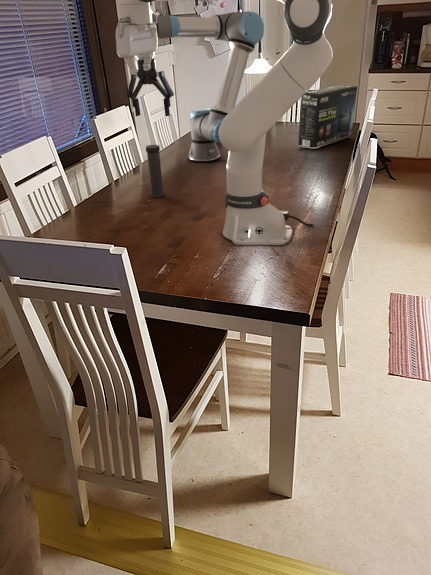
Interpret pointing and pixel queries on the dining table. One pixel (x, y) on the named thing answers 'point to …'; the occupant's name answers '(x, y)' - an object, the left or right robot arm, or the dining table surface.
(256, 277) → the dining table surface
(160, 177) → the dark grey cylinder
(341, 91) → the router box
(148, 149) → the lid
